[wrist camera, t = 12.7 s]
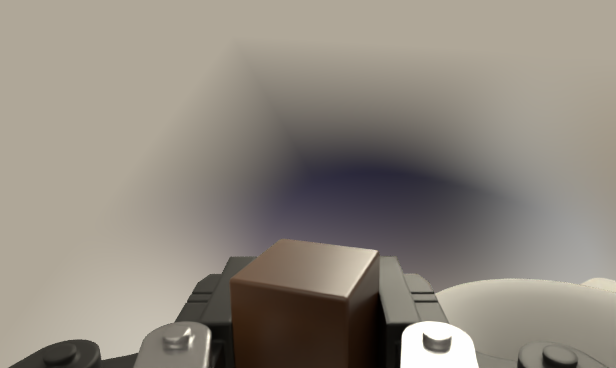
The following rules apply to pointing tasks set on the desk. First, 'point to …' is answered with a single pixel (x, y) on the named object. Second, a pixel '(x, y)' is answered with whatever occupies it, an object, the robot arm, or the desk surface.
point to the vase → (533, 316)
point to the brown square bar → (307, 307)
